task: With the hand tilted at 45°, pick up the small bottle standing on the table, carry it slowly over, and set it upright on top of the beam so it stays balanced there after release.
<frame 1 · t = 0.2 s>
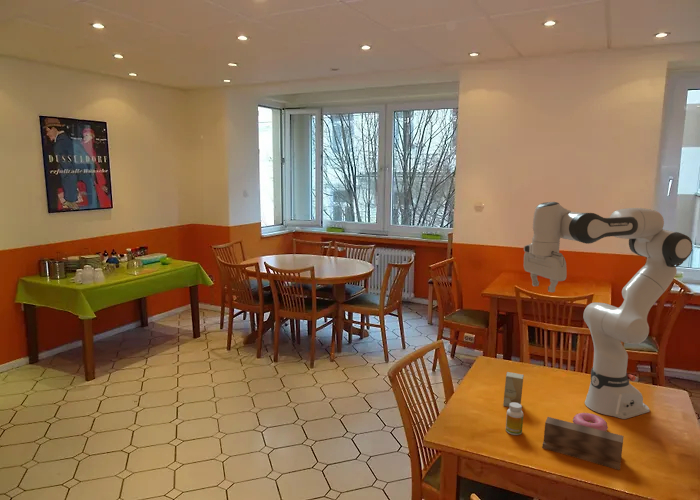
hand: (543, 288, 169), 48 cm above the table, tool pointing down, fingers open, 8 cm apart
supplement bottle: (513, 431, 167), on the table
skincare box: (512, 405, 185), on the table
doughnut: (589, 429, 169), on the table
beam: (581, 452, 154), on the table
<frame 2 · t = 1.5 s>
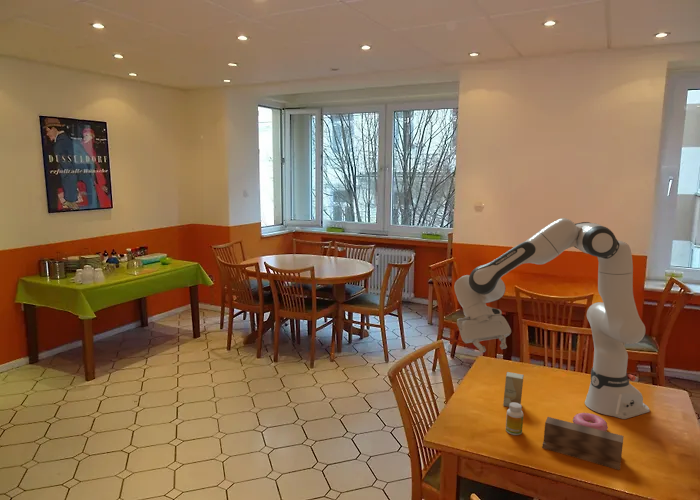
hand: (494, 350, 174), 25 cm above the table, tool tilted 45°, fingers open, 8 cm apart
nothing on the table moved.
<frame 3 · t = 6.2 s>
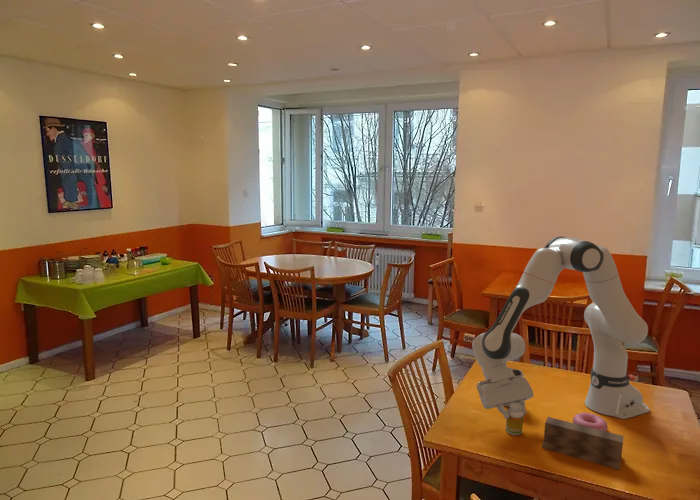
hand: (516, 416, 165), 6 cm above the table, tool tilted 45°, fingers closed on supplement bottle, 5 cm apart
supplement bottle: (513, 431, 167), on the table, touching gripper
everything else where it was.
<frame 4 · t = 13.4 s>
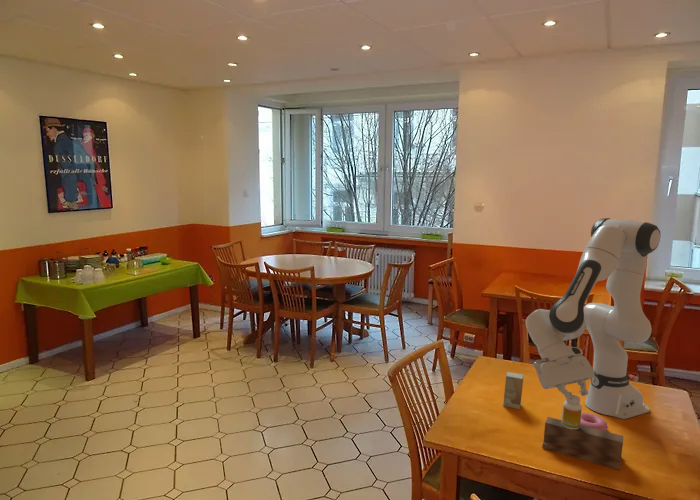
hand: (578, 396, 153), 18 cm above the table, tool tilted 45°, fingers open, 5 cm apart
supplement bottle: (570, 426, 155), point 8 cm above the table, touching gripper, beam
everything else where it was.
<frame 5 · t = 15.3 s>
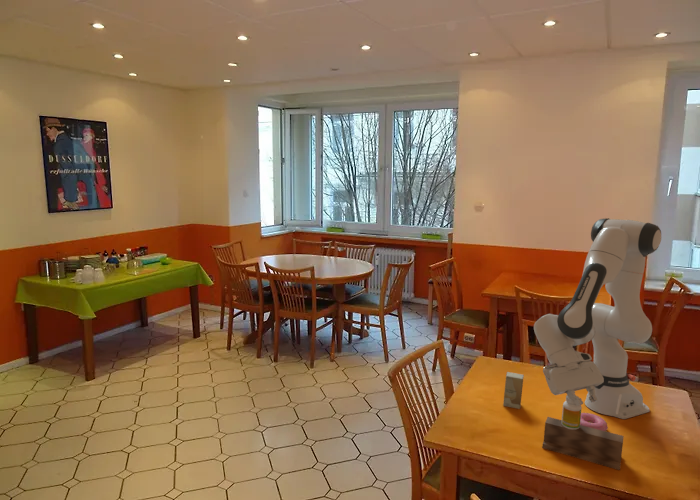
hand: (587, 403, 151), 17 cm above the table, tool tilted 45°, fingers open, 5 cm apart
nothing on the table moved.
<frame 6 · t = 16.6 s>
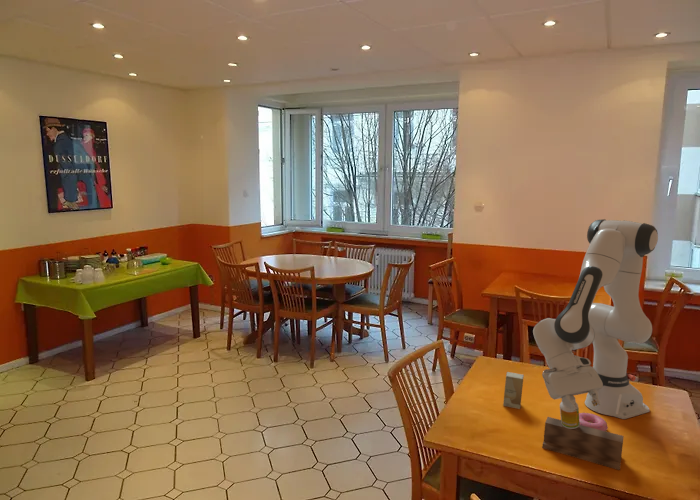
hand: (586, 407, 151), 16 cm above the table, tool tilted 45°, fingers open, 8 cm apart
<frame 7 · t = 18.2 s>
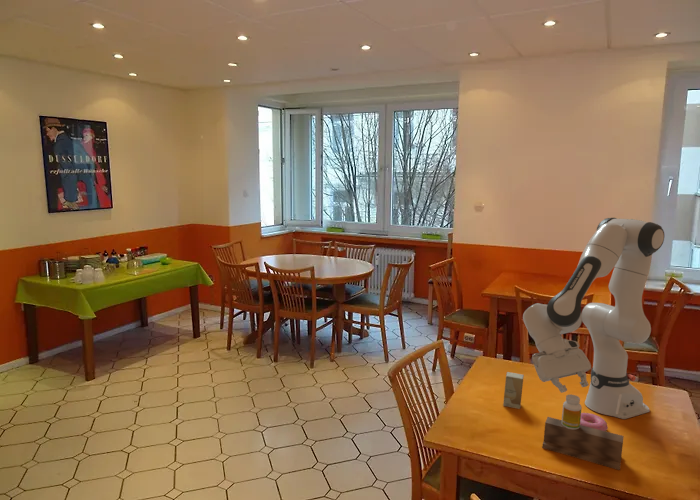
hand: (575, 389, 156), 19 cm above the table, tool tilted 45°, fingers open, 8 cm apart
supplement bottle: (570, 426, 155), point 8 cm above the table, touching beam
everything else where it was.
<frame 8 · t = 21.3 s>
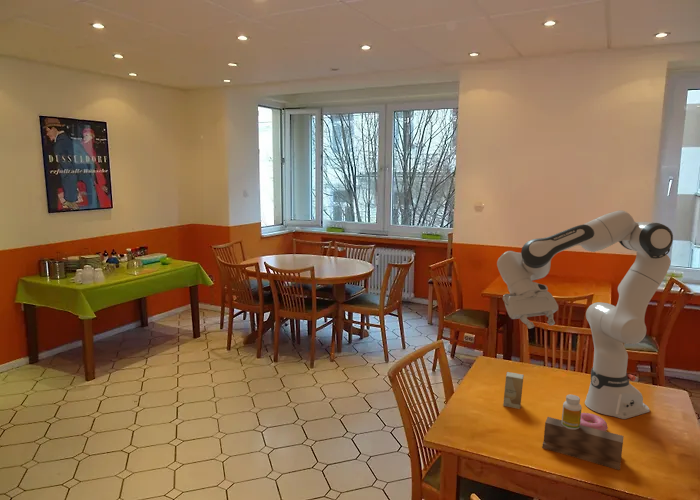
hand: (542, 326, 168), 35 cm above the table, tool tilted 45°, fingers open, 8 cm apart
nothing on the table moved.
at the end: supplement bottle inside the target area on the beam (3.7 cm from its centre), point 7.8 cm above the beam's base; supplement bottle tilted 0°; the gripper is holding nothing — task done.
